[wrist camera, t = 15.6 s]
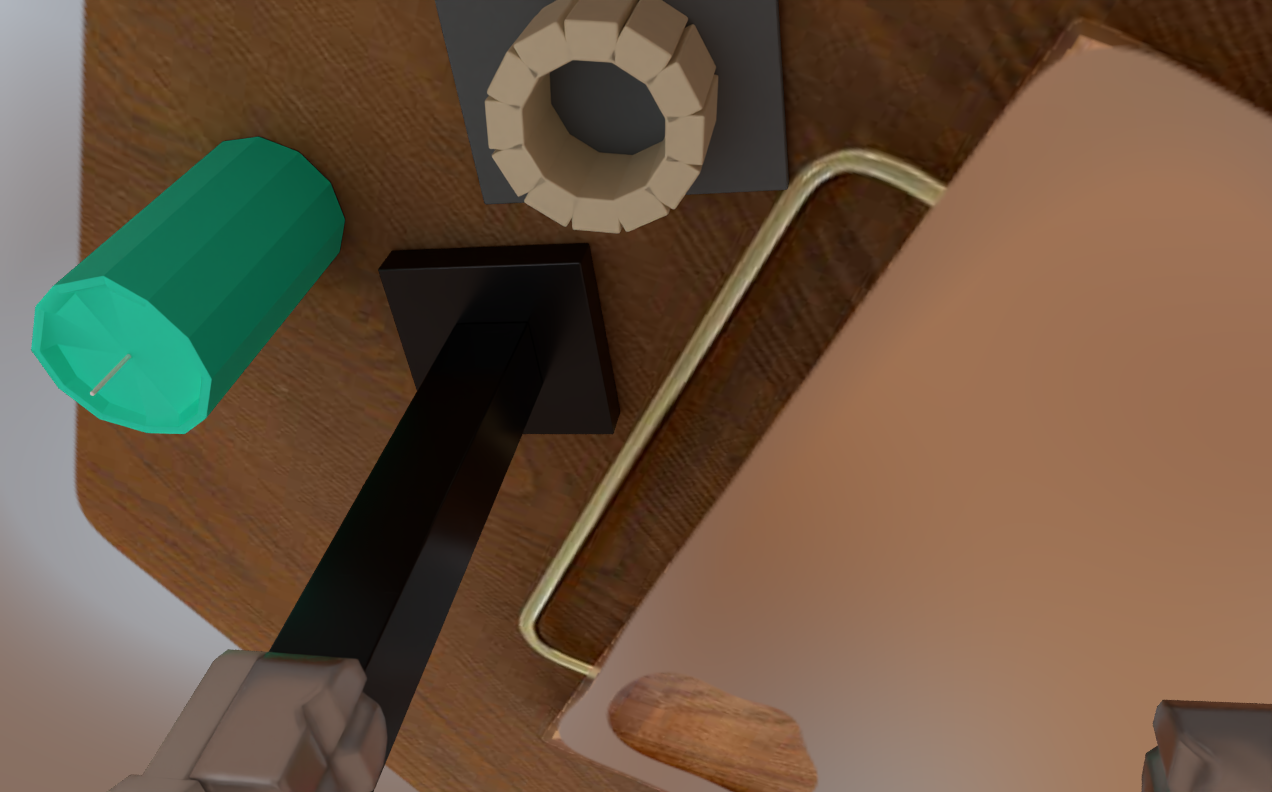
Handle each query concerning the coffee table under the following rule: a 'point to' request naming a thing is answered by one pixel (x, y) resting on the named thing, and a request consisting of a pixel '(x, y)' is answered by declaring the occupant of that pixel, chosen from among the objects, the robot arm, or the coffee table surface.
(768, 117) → the mat
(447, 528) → the stand
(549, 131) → the tan segmented ring
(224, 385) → the candle
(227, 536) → the coffee table surface
